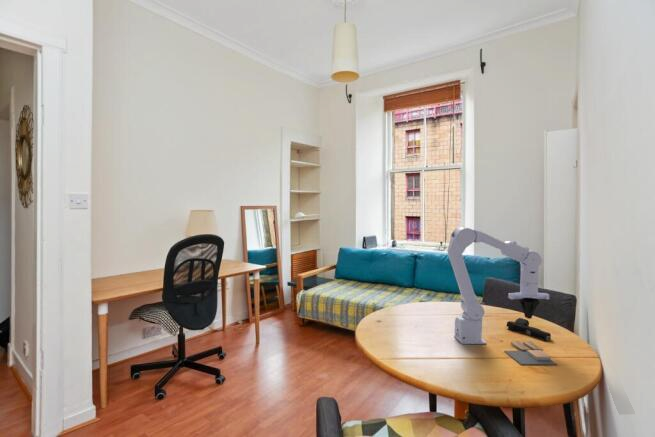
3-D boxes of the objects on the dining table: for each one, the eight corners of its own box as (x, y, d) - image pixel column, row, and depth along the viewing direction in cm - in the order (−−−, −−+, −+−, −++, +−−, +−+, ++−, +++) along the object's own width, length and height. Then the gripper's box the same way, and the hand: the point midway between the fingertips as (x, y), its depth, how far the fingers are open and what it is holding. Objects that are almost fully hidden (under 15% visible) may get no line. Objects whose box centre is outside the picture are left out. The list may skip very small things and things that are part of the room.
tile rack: (521, 352, 119) (522, 349, 119) (510, 344, 126) (510, 341, 126) (543, 352, 120) (543, 349, 120) (530, 343, 127) (530, 341, 127)
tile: (536, 356, 112) (550, 356, 113) (527, 350, 117) (541, 350, 118) (536, 360, 112) (550, 360, 113) (526, 353, 117) (540, 353, 118)
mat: (521, 365, 110) (521, 363, 110) (504, 351, 120) (504, 350, 120) (556, 364, 110) (556, 363, 110) (537, 351, 120) (537, 350, 120)
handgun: (560, 337, 136) (545, 343, 129) (516, 323, 150) (502, 328, 143) (560, 329, 135) (546, 334, 129) (517, 316, 150) (502, 320, 143)
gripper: (516, 284, 122) (515, 321, 123) (555, 284, 122) (554, 321, 123) (505, 280, 129) (504, 315, 130) (542, 280, 129) (541, 315, 130)
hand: (528, 317), depth 127 cm, fingers closed
